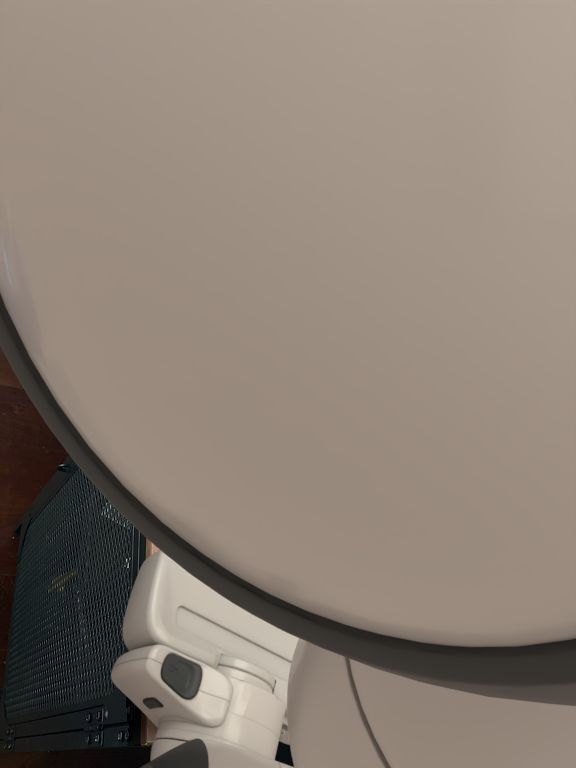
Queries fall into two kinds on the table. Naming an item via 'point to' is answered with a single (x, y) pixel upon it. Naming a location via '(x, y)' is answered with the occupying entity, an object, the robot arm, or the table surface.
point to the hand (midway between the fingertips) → (269, 550)
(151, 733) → the table surface
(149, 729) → the table surface
